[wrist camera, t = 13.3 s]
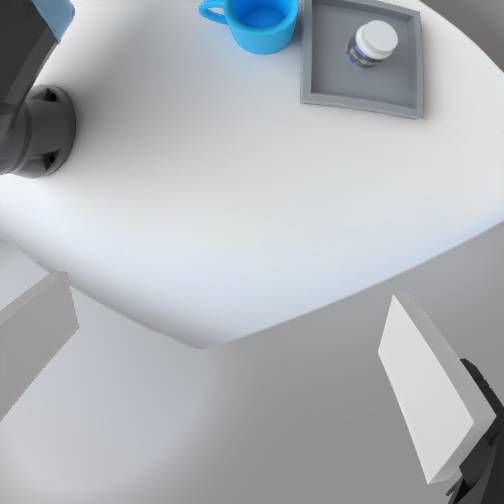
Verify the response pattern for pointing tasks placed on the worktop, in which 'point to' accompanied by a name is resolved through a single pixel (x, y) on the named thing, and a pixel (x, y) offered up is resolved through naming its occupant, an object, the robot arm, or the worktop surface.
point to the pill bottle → (371, 44)
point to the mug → (256, 22)
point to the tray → (350, 76)
